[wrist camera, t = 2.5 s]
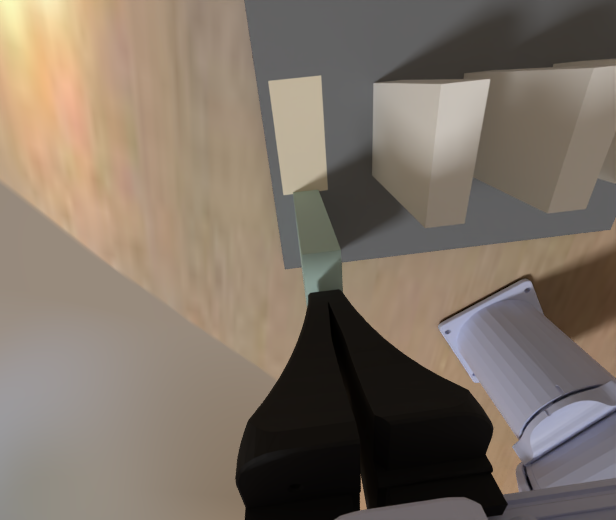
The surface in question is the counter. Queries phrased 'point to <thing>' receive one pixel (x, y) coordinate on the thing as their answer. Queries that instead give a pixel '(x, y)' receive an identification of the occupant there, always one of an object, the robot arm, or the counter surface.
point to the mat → (403, 66)
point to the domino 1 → (317, 244)
